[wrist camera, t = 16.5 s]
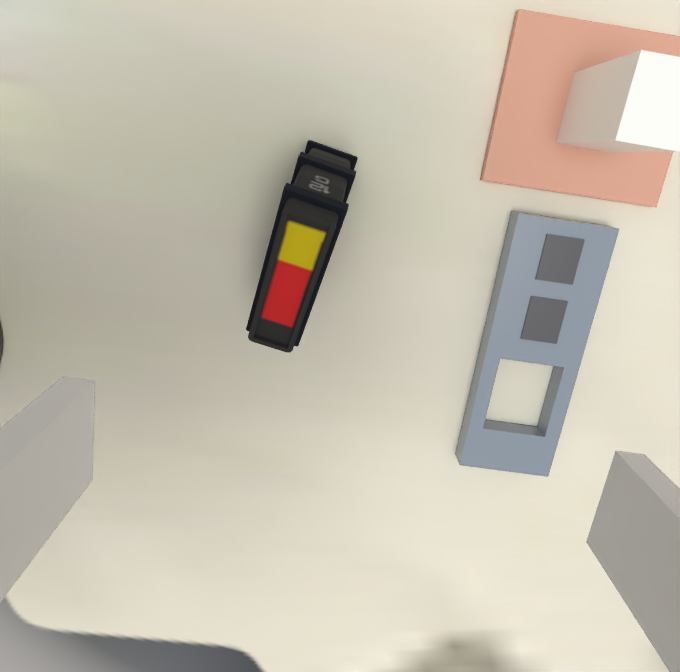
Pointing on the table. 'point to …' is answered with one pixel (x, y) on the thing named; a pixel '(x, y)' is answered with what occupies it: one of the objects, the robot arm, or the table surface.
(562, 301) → the power strip
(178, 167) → the table surface
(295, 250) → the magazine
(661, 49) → the mat
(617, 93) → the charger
